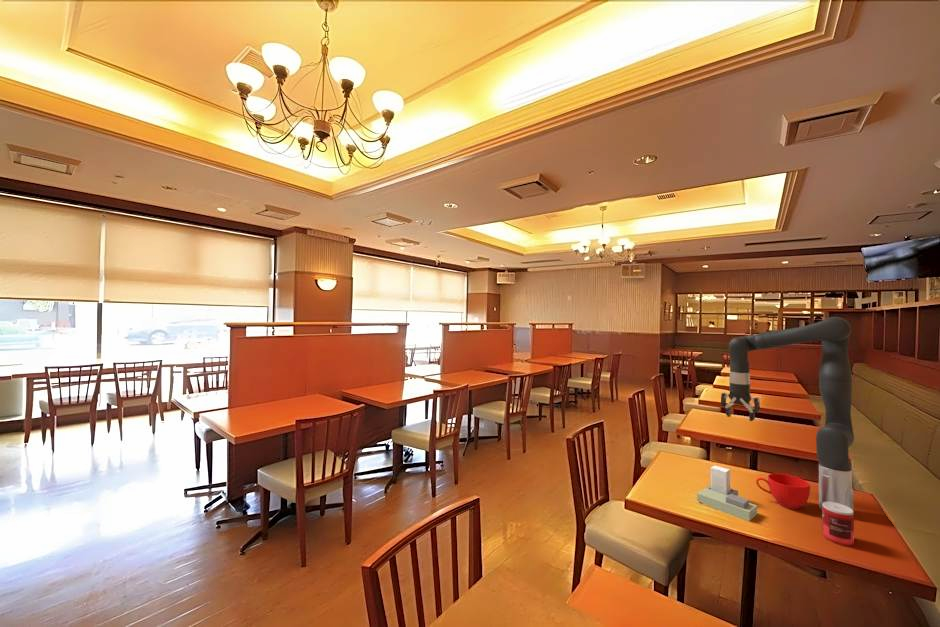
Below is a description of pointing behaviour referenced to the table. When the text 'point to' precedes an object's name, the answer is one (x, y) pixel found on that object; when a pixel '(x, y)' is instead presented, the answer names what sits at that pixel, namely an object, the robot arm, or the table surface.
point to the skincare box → (720, 480)
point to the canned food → (838, 523)
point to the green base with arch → (728, 503)
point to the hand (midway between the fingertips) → (739, 418)
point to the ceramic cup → (787, 489)
